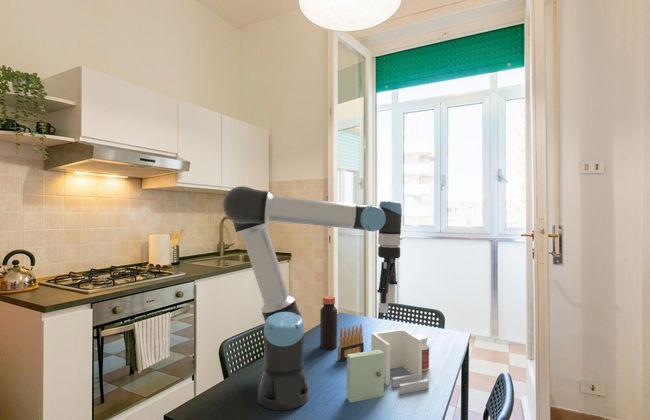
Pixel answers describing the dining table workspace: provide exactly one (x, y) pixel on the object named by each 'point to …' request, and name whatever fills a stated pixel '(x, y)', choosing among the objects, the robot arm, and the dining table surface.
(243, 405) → the dining table surface
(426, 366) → the pill bottle
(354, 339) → the ammunition clip
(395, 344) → the cabinet
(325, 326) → the vinegar
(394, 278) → the robot arm
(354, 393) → the door
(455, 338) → the dining table surface
